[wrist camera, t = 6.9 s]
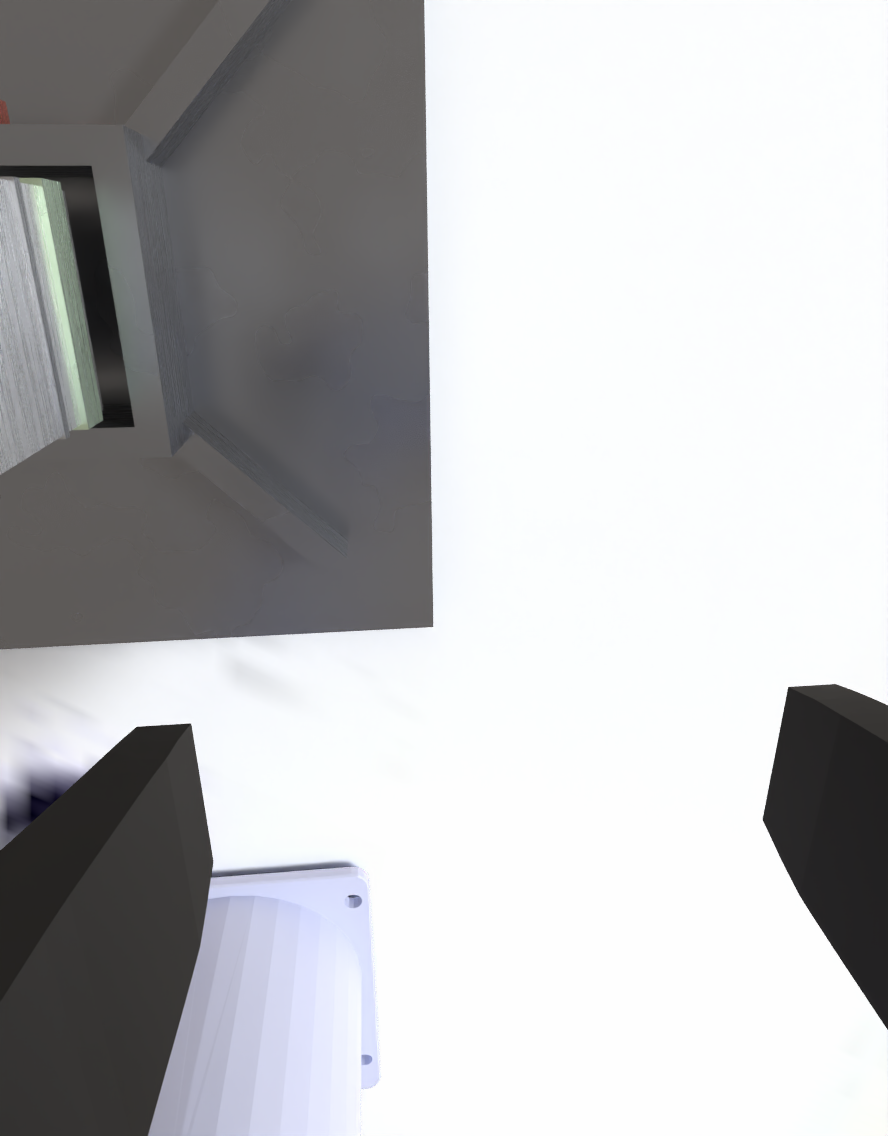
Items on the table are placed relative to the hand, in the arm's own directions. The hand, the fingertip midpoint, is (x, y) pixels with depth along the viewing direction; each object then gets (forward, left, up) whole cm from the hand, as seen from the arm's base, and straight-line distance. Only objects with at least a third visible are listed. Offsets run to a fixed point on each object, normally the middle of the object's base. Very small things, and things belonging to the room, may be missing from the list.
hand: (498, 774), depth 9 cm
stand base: (+5, +8, -10) cm, 14 cm away
